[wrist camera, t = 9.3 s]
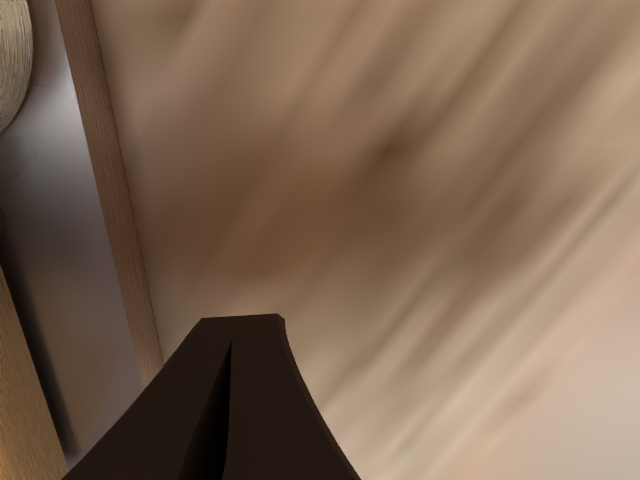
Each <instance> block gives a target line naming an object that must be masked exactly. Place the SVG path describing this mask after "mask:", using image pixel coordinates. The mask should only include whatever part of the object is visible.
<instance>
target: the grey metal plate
mask: <svg viewBox="0 0 640 480" xmlns="http://www.w3.org/2000/svg"><path fill="white" fill-rule="evenodd" d="M26 2H27V5H28V10H29V15H30V20H31V26H32V37H33V59H32V70H31V75H30V79H29V84H28V88H27V91H26V93H25V96H24V99H23V101H22V104H21V106H20V107H19V109H18V111H17V113H16V114H15V116H14V118H13V119H12V121H11V122H10V123H9V124H8V125H7V127H6V128H5V129H4V130H3V131H2V133H1V134H0V264H1V267H2V270H3V273H4V276H5V279H6V282H7V285H8V288H9V291H10V294H11V297H12V300H13V303H14V306H15V309H16V312H17V315H18V318H19V321H20V325H21V328H22V331H23V334H24V337H25V340H26V343H27V346H28V349H29V352H30V355H31V358H32V361H33V364H34V367H35V370H36V373H37V376H38V379H39V382H40V385H41V388H42V391H43V394H44V397H45V400H46V403H47V406H48V409H49V412H50V415H51V418H52V421H53V424H54V427H55V430H56V433H57V436H58V439H59V442H60V445H61V448H62V451H63V454H64V457H65V460H66V463H67V466H68V469H69V471H70V470H71V469H72V468H73V467H74V466H75V465H76V464H77V463H78V462H79V461H80V460H81V459H82V458H83V457H84V456H85V455H86V454H87V453H88V452H89V450H90V449H91V448H92V447H93V446H94V445H95V444H96V443H97V442H98V441H99V440H100V439H101V438H102V436H103V435H104V434H105V433H106V432H107V431H108V430H109V429H110V428H111V427H112V426H113V425H114V424H115V422H116V421H117V420H118V419H119V418H120V417H121V416H122V415H123V414H124V413H125V412H126V410H127V409H128V408H129V407H130V406H131V405H132V403H133V402H134V401H135V400H136V399H137V397H138V396H139V395H140V394H141V393H142V391H143V390H144V389H145V388H146V387H147V386H148V384H149V383H150V382H151V381H152V380H153V378H154V377H155V376H156V375H157V374H158V372H159V371H160V370H161V369H162V367H163V361H162V356H161V351H160V346H159V341H158V336H157V331H156V327H155V322H154V317H153V312H152V307H151V302H150V297H149V292H148V287H147V282H146V277H145V272H144V267H143V262H142V257H141V252H140V247H139V242H138V237H137V232H136V227H135V222H134V217H133V212H132V207H131V203H130V198H129V193H128V188H127V183H126V178H125V173H124V168H123V163H122V158H121V153H120V148H119V143H118V138H117V133H116V128H115V123H114V118H113V113H112V108H111V103H110V98H109V93H108V88H107V83H106V79H105V74H104V69H103V64H102V59H101V54H100V49H99V44H98V39H97V34H96V29H95V24H94V19H93V14H92V9H91V4H90V0H26Z"/></svg>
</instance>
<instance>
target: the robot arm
mask: <svg viewBox="0 0 640 480" xmlns="http://www.w3.org/2000/svg"><path fill="white" fill-rule="evenodd" d="M61 480H361V479H360V477H359V476H358V474H357V473H356V471H355V470H354V468H353V467H352V465H351V464H350V462H349V461H348V459H347V458H346V456H345V455H344V453H343V451H342V450H341V448H340V447H339V445H338V443H337V442H336V440H335V438H334V437H333V435H332V433H331V431H330V430H329V428H328V426H327V425H326V423H325V421H324V420H323V418H322V416H321V414H320V412H319V410H318V408H317V407H316V405H315V403H314V401H313V399H312V397H311V395H310V393H309V391H308V388H307V386H306V384H305V382H304V380H303V378H302V376H301V374H300V372H299V369H298V367H297V365H296V362H295V359H294V357H293V354H292V351H291V349H290V345H289V342H288V339H287V335H286V330H285V319H284V318H282V317H281V316H280V315H279V314H261V315H245V316H228V317H212V318H201V319H200V321H199V322H198V323H197V324H196V325H195V326H194V327H193V329H192V330H191V331H190V332H189V334H188V335H187V336H186V338H185V339H184V340H183V342H182V343H181V344H180V346H179V347H178V348H177V349H176V351H175V352H174V353H173V355H172V356H171V357H170V358H169V360H168V361H167V362H166V364H165V365H164V366H163V367H162V369H161V370H160V371H159V372H158V374H157V375H156V376H155V377H154V378H153V380H152V381H151V382H150V383H149V384H148V386H147V387H146V388H145V389H144V390H143V391H142V393H141V394H140V395H139V396H138V397H137V399H136V400H135V401H134V402H133V403H132V405H131V406H130V407H129V408H128V409H127V410H126V412H125V413H124V414H123V415H122V416H121V417H120V418H119V419H118V420H117V421H116V422H115V424H114V425H113V426H112V427H111V428H110V429H109V430H108V431H107V432H106V433H105V434H104V435H103V436H102V438H101V439H100V440H99V441H98V442H97V443H96V444H95V445H94V446H93V447H92V448H91V449H90V450H89V452H88V453H87V454H86V455H85V456H84V457H83V458H82V459H81V460H80V461H79V462H78V463H77V464H76V465H75V466H74V467H73V468H72V469H71V470H70V471H69V472H68V473H67V474H66V475H65V476H64V477H63V478H62V479H61Z"/></svg>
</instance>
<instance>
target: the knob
mask: <svg viewBox="0 0 640 480" xmlns="http://www.w3.org/2000/svg"><path fill="white" fill-rule="evenodd" d="M32 59H33V37H32V26H31V20H30V15H29V10H28V5H27V2H26V0H0V134H1V133H2V131H3V130H4V129H5V128H6V127H7V125H8V124H9V123H10V122H11V121H12V119H13V118H14V116H15V114H16V113H17V111H18V109H19V107H20V106H21V104H22V101H23V99H24V96H25V93H26V91H27V88H28V84H29V79H30V75H31V70H32ZM68 472H69V469H68V466H67V463H66V460H65V457H64V454H63V451H62V448H61V445H60V442H59V439H58V436H57V433H56V430H55V427H54V424H53V421H52V418H51V415H50V412H49V409H48V406H47V403H46V400H45V397H44V394H43V391H42V388H41V385H40V382H39V379H38V376H37V373H36V370H35V367H34V364H33V361H32V358H31V355H30V352H29V349H28V346H27V343H26V340H25V337H24V334H23V331H22V328H21V325H20V321H19V318H18V315H17V312H16V309H15V306H14V303H13V300H12V297H11V294H10V291H9V288H8V285H7V282H6V279H5V276H4V273H3V270H2V267H1V264H0V480H61V479H62V478H63V477H64V476H65V475H66V474H67V473H68Z"/></svg>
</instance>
